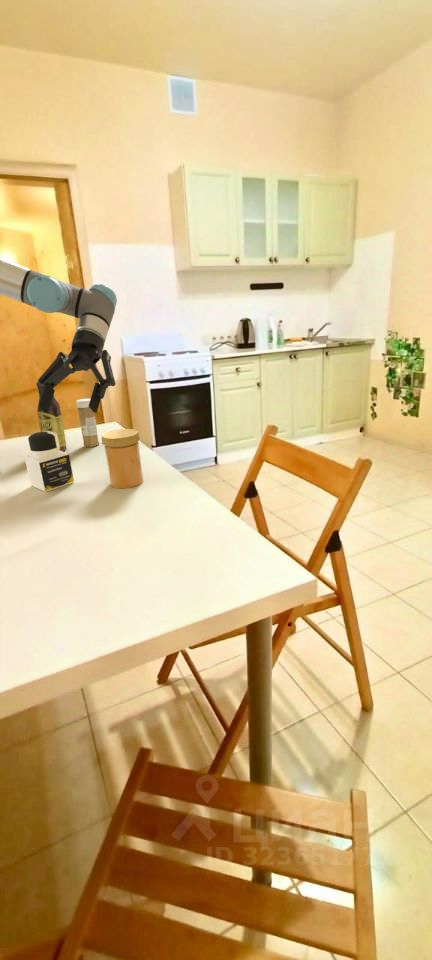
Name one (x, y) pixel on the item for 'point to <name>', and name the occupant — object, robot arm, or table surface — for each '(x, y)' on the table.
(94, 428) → the sprinkles bottle
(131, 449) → the jar
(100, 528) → the table surface
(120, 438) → the lid
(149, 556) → the table surface
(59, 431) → the sauce bottle
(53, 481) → the medicine bottle
